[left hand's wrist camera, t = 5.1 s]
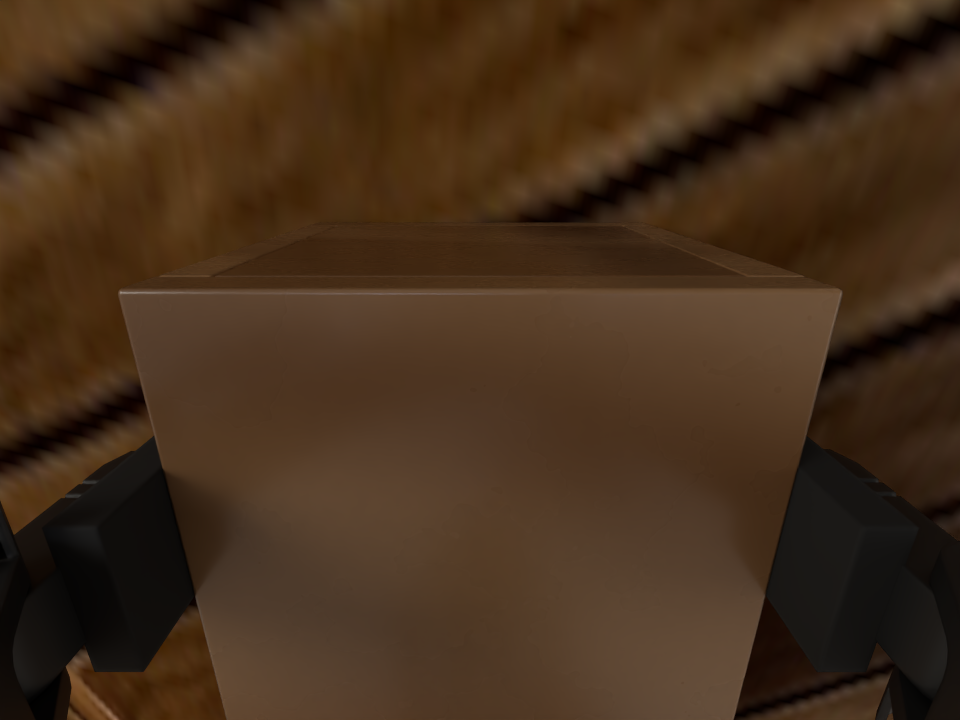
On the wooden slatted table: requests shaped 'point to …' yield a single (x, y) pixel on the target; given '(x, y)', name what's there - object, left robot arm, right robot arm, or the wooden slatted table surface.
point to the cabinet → (480, 464)
